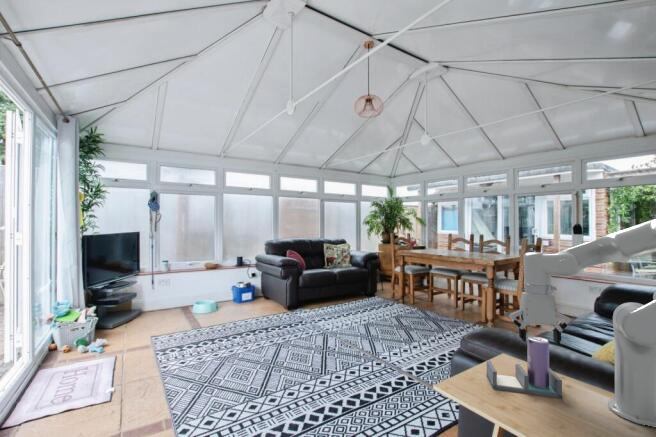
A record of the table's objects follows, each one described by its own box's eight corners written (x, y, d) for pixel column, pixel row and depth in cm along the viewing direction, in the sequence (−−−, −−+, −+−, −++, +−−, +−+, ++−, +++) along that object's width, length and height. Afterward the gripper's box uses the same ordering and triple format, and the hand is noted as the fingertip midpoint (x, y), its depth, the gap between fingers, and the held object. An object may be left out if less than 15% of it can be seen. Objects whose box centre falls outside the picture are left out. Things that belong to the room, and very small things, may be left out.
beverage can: (552, 390, 99) (552, 343, 99) (532, 388, 100) (532, 341, 101) (543, 381, 105) (543, 336, 105) (524, 379, 106) (524, 335, 106)
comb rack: (549, 384, 105) (549, 368, 106) (562, 398, 97) (561, 380, 97) (486, 375, 111) (486, 360, 111) (492, 388, 102) (492, 371, 102)
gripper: (562, 288, 105) (565, 340, 104) (505, 286, 109) (507, 335, 108) (573, 292, 97) (576, 348, 97) (512, 290, 102) (514, 343, 101)
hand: (539, 341), depth 103 cm, fingers open, 9 cm apart
